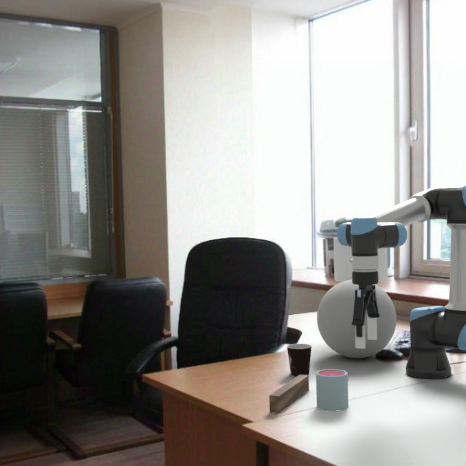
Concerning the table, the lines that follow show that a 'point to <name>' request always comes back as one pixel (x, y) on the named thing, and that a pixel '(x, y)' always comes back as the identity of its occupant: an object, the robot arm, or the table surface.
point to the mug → (332, 389)
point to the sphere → (341, 316)
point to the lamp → (345, 266)
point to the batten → (288, 393)
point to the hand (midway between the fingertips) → (366, 343)
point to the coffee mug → (299, 359)
